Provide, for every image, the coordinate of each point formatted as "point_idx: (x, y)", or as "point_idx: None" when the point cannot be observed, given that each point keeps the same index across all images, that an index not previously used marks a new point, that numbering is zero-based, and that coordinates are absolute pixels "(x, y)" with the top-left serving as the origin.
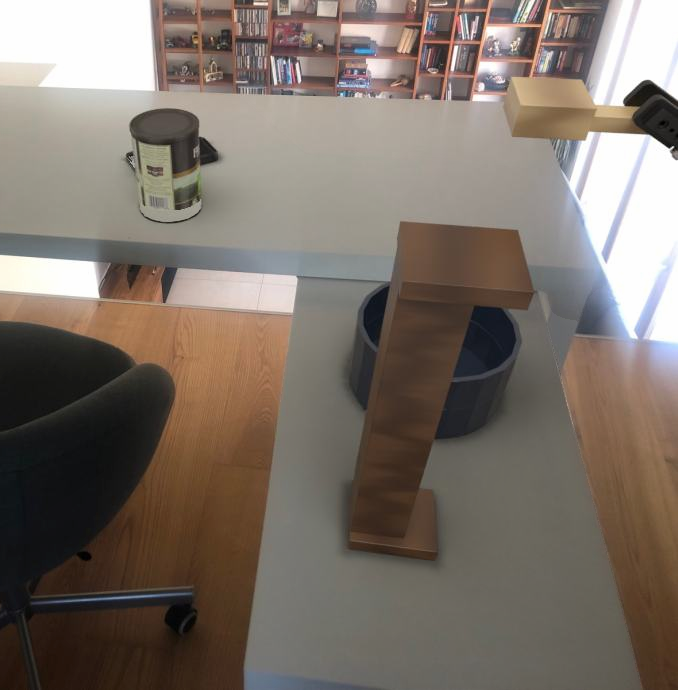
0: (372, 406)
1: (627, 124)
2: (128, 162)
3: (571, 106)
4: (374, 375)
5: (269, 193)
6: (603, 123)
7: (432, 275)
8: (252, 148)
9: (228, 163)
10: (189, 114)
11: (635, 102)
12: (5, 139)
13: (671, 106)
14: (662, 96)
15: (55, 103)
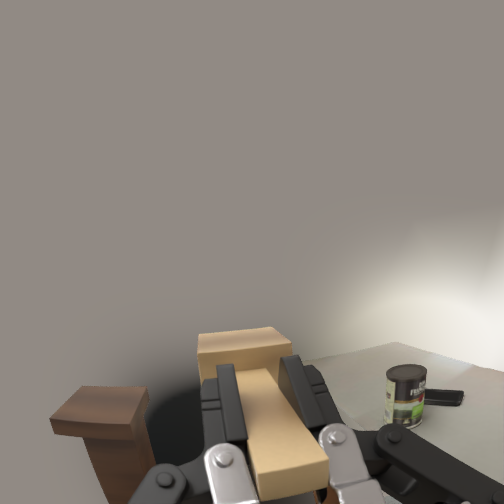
0: None
1: None
2: None
3: (198, 345)
4: None
5: (457, 433)
6: None
7: (82, 392)
8: (483, 405)
9: (460, 409)
10: (424, 371)
11: (280, 385)
12: (389, 368)
13: (219, 385)
14: (232, 368)
15: (428, 360)
